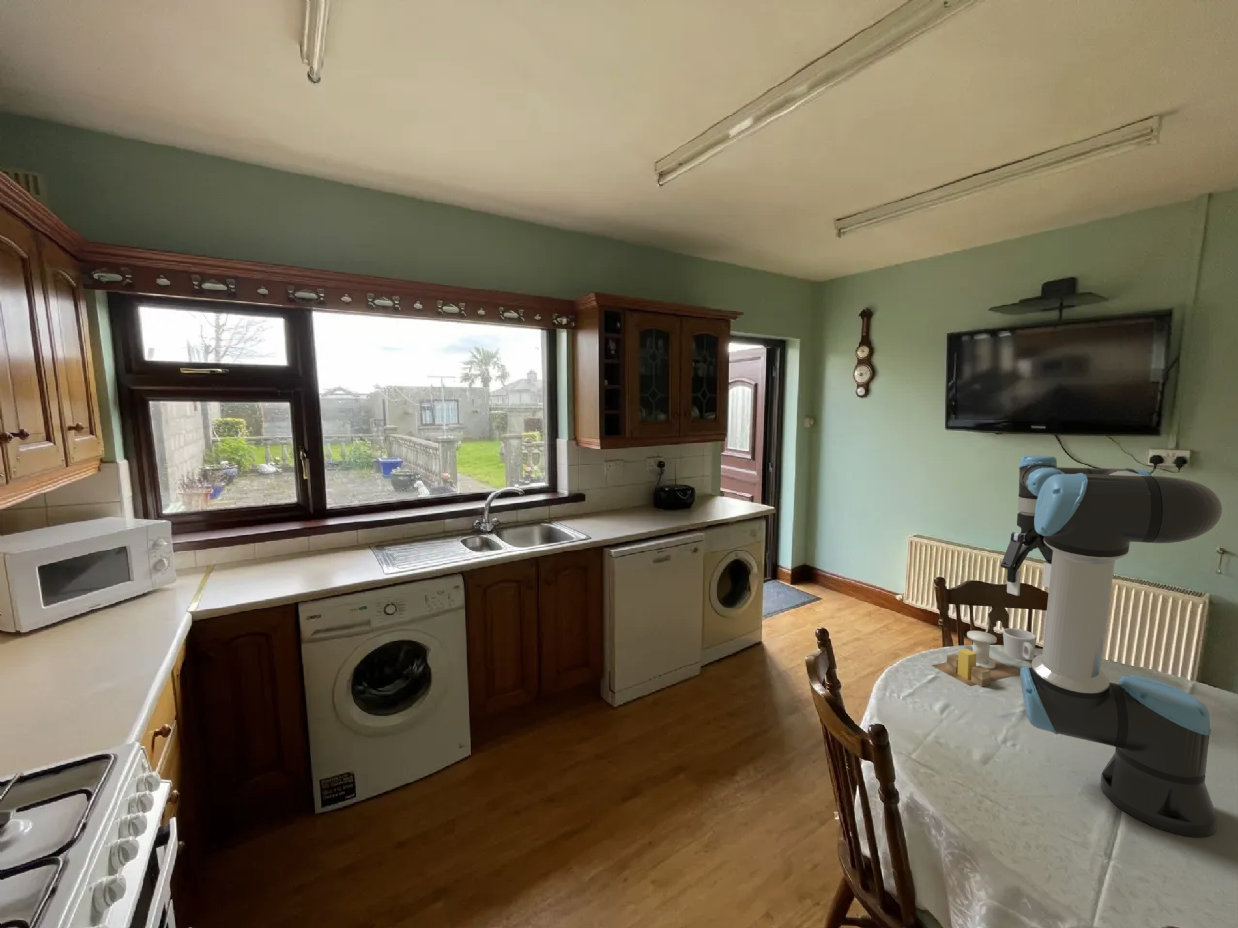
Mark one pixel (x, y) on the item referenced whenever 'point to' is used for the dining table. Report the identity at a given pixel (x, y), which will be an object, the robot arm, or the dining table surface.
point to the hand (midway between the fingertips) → (1031, 590)
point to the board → (994, 672)
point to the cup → (1019, 643)
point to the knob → (982, 648)
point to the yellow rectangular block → (966, 662)
